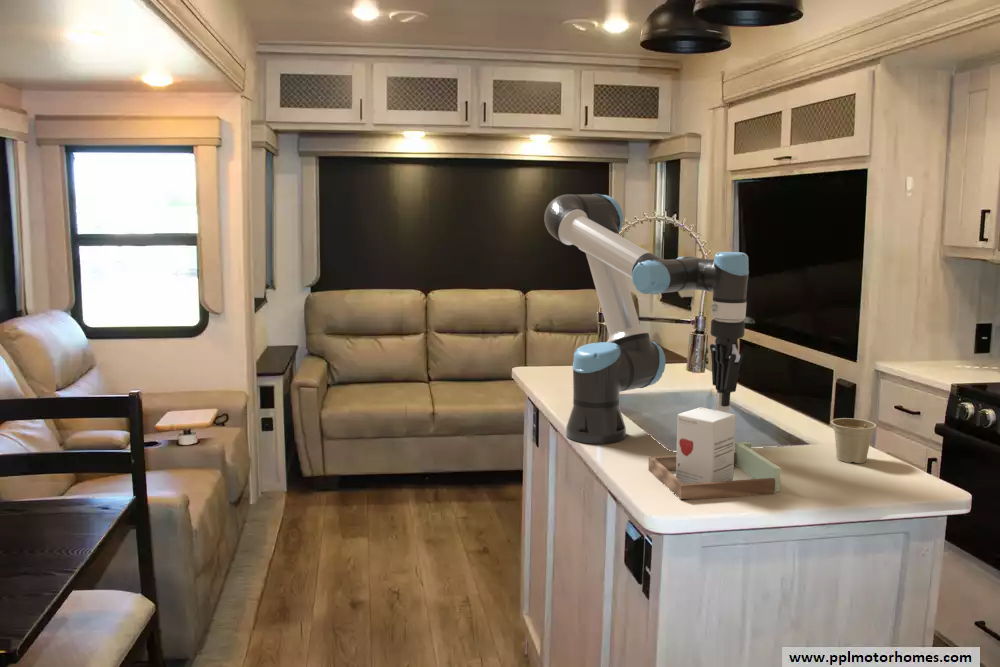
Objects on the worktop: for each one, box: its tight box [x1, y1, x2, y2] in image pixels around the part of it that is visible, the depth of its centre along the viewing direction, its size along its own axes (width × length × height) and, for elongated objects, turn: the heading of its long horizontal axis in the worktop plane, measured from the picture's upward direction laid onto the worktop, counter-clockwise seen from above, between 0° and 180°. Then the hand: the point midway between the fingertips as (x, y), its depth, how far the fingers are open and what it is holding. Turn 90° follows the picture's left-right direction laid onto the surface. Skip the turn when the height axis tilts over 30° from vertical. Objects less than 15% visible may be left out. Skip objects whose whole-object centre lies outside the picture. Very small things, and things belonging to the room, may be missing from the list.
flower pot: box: [830, 417, 877, 464], centre depth 183 cm, size 9×9×9 cm
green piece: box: [734, 441, 782, 493], centre depth 173 cm, size 18×3×5 cm, turn 9°
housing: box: [648, 451, 776, 500], centre depth 170 cm, size 19×20×3 cm
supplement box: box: [675, 406, 737, 484], centre depth 169 cm, size 9×9×15 cm
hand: (721, 418), depth 189 cm, fingers closed
